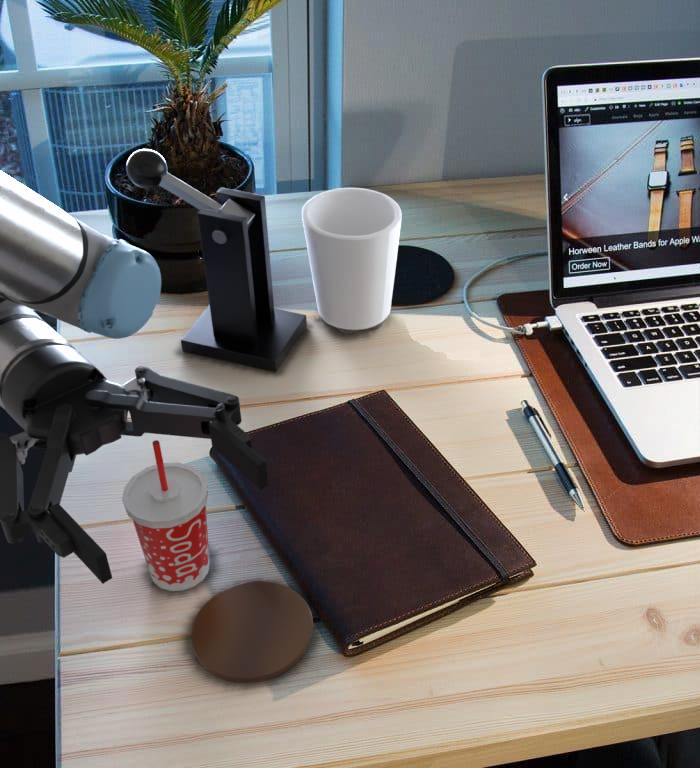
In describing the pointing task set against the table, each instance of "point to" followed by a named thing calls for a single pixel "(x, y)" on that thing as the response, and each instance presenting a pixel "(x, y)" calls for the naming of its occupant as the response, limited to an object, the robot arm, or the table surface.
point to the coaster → (252, 631)
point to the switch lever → (175, 183)
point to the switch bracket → (240, 291)
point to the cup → (352, 255)
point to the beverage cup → (170, 521)
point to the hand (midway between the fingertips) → (188, 520)
